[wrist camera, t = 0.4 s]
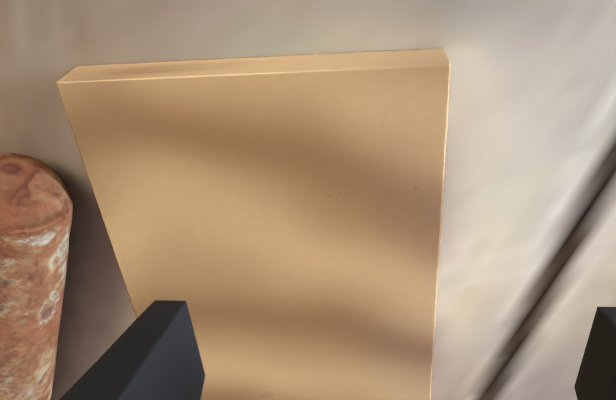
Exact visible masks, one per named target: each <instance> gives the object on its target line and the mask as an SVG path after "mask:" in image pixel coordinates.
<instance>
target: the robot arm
mask: <svg viewBox="0 0 616 400" xmlns="http://www.w3.org/2000/svg"><path fill="white" fill-rule="evenodd" d="M204 379H205V372H204V368H203V364H202V360H201V356H200V352H199V348H198V345H197V341H196V337H195V333H194V329H193V325H192V321H191V317H190V313H189V310H188V306H187V302H186V301H172V300H155V301H154V302H153V303H152V304H151V305H150V306H149V307H148V308H147V309H146V310H145V311H144V312H143V313H142V314H141V315H140V316H139V317H138V318H137V319H136V320H135V321H134V322H133V323H132V324H131V326H130V327H129V328H128V329H127V330H126V331H125V332H124V333H123V334H122V335H121V336H120V337H119V338H118V339H117V341H116V342H115V343H114V344H113V345H112V346H111V347H110V348H109V349H108V350H107V351H106V352H105V353H104V354H103V355H102V356H101V358H100V359H99V360H98V361H97V362H96V363H95V364H94V365H93V366H92V367H91V368H90V369H89V370H88V371H87V372H86V373H85V374H84V375H83V376H82V377H81V378H80V379H79V380H78V381H77V382H76V383H75V384H74V385H73V386H72V387H71V388H70V389H69V390H68V391H67V392H66V393H65V394H64V395H63V396H62V397H61V398H60V399H59V400H201V395H202V390H203V385H204ZM575 391H576V395H577V399H578V400H616V307H597V311H596V314H595V318H594V321H593V324H592V328H591V331H590V335H589V338H588V342H587V345H586V349H585V352H584V356H583V359H582V363H581V366H580V370H579V373H578V376H577V380H576V383H575Z"/></svg>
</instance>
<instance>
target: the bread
mask: <svg viewBox="0 0 616 400" xmlns="http://www.w3.org/2000/svg"><path fill="white" fill-rule="evenodd" d="M72 211H73V204H72V197H71V194H70V192H69V191H68V189H67V187H66V186H65V184H64V183H63V182H62V180H61V179H60V178H59V176H58V175H57V174H56V173H55V172H54V171H53V170H52V169H51V168H50V167H49V166H48V165H46V164H45V163H44V162H42V161H40V160H38V159H36V158H33V157H31V156H27V155H21V154H16V153H0V400H51V394H52V386H53V378H54V373H55V364H56V353H57V344H58V335H59V327H60V319H61V311H62V303H63V295H64V287H65V280H66V272H67V261H68V252H69V233H70V229H71V223H72Z"/></svg>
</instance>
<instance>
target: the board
mask: <svg viewBox="0 0 616 400" xmlns="http://www.w3.org/2000/svg"><path fill="white" fill-rule="evenodd" d="M450 70H451V65H450V62H449V59H448V56H447V53H446V51H445V49H444V48H441V49H420V50H400V51H379V52H359V53H338V54H318V55H297V56H276V57H256V58H235V59H215V60H194V61H174V62H153V63H133V64H112V65H92V66H77V67H75V68H74V69H73V70H71V71H70V72H69V73H68V74H66V75H65V76H64V77H62V78H61V79H60V80H58V81H57V82H56V84H57V87H58V90H59V93H60V96H61V99H62V102H63V105H64V108H65V110H66V113H67V116H68V119H69V122H70V125H71V128H72V131H73V134H74V137H75V140H76V142H77V145H78V148H79V151H80V154H81V157H82V160H83V163H84V166H85V169H86V171H87V174H88V177H89V180H90V183H91V186H92V189H93V192H94V195H95V198H96V201H97V203H98V206H99V209H100V212H101V215H102V218H103V221H104V224H105V227H106V230H107V233H108V235H109V238H110V241H111V244H112V247H113V250H114V253H115V256H116V259H117V262H118V265H119V267H120V270H121V273H122V276H123V279H124V282H125V285H126V288H127V291H128V294H129V296H130V299H131V302H132V305H133V308H134V311H135V314H136V317H137V318H138V317H139V316H140V315H141V314H142V313H143V312H144V311H145V310H146V309H147V308H148V307H149V306H150V305H151V304H152V303H153V302H154V301H155V300H172V301H186V302H187V306H188V310H189V313H190V317H191V321H192V325H193V329H194V333H195V337H196V341H197V345H198V348H199V352H200V356H201V360H202V364H203V368H204V372H205V379H204V385H203V390H202V395H201V400H430V398H431V382H432V366H433V349H434V333H435V316H436V300H437V283H438V267H439V251H440V234H441V218H442V201H443V185H444V169H445V152H446V136H447V119H448V103H449V87H450Z"/></svg>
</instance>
